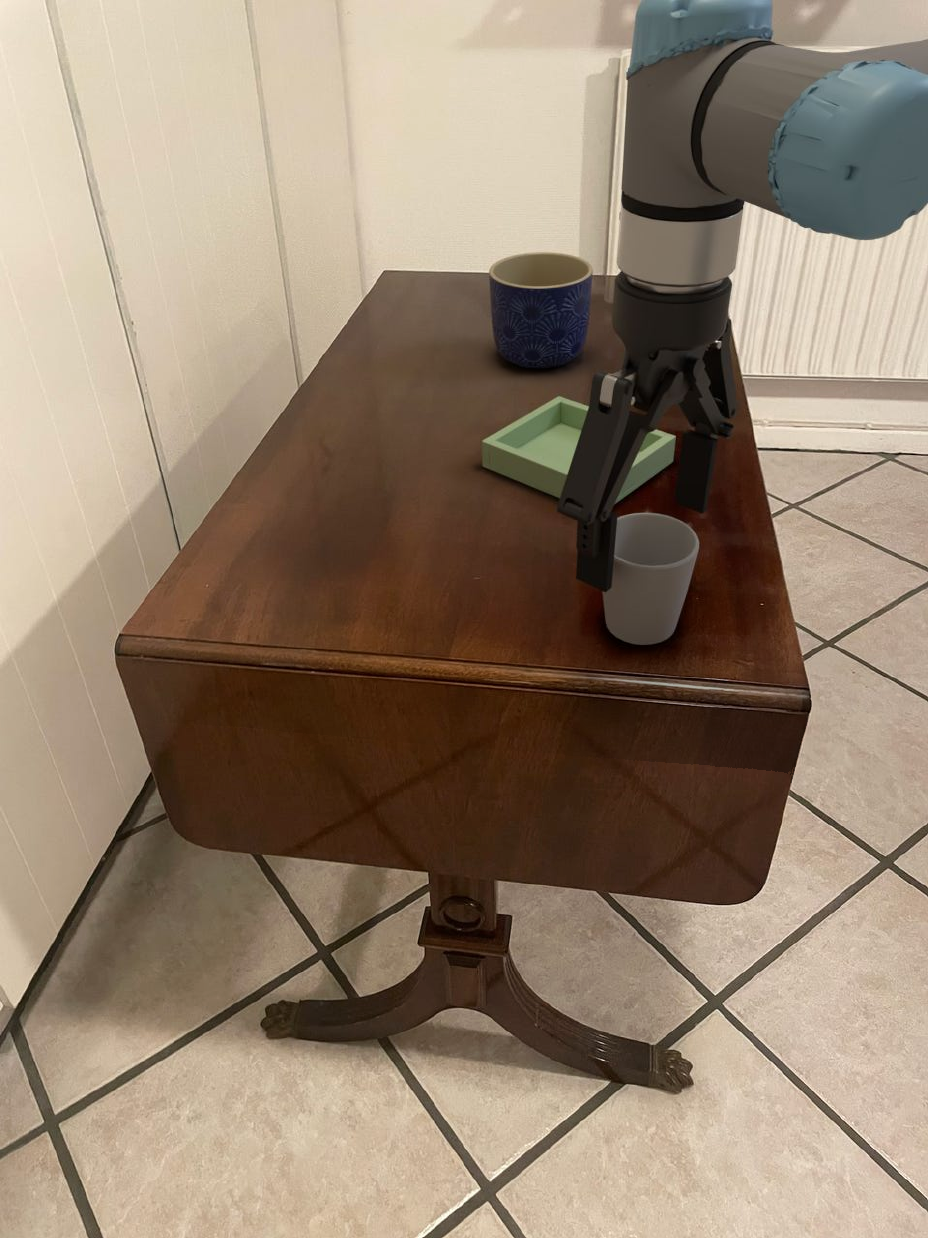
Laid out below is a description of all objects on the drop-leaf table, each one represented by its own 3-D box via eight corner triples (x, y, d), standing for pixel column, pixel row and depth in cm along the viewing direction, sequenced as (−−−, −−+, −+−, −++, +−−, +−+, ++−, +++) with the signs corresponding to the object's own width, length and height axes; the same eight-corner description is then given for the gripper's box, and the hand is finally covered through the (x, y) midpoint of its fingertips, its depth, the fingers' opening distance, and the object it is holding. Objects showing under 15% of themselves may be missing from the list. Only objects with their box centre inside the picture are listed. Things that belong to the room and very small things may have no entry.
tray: (673, 461, 99) (676, 435, 97) (600, 515, 91) (601, 488, 89) (558, 420, 107) (558, 395, 105) (482, 466, 99) (481, 440, 97)
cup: (594, 653, 76) (600, 566, 70) (592, 578, 83) (597, 495, 78) (692, 656, 75) (705, 568, 70) (680, 580, 83) (691, 496, 77)
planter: (479, 371, 117) (476, 283, 111) (504, 332, 127) (503, 249, 120) (578, 380, 114) (581, 290, 107) (597, 340, 123) (601, 254, 117)
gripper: (721, 213, 70) (687, 464, 84) (505, 319, 56) (506, 599, 70) (816, 232, 66) (765, 492, 80) (609, 352, 52) (589, 642, 66)
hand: (644, 543), depth 75 cm, fingers open, 13 cm apart
